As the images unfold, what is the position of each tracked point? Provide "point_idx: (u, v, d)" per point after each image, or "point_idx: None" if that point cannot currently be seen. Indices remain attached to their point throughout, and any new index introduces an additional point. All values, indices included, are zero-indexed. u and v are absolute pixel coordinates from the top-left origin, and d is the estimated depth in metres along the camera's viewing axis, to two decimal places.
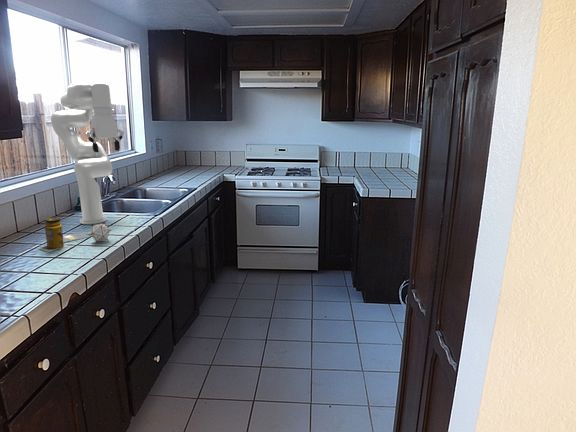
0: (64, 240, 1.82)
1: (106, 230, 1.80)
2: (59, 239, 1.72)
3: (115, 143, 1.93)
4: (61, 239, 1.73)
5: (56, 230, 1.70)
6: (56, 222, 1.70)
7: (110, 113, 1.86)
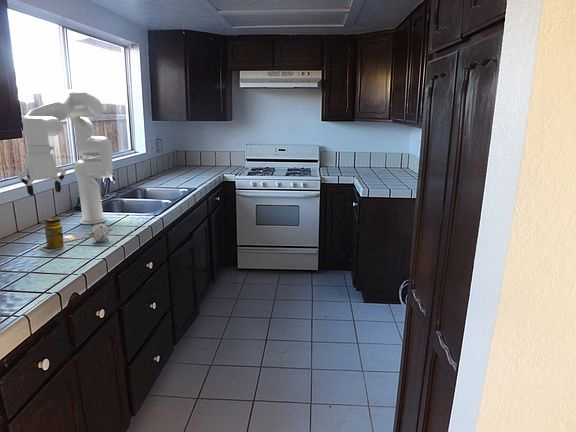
0: (64, 240, 1.82)
1: (106, 230, 1.80)
2: (59, 239, 1.72)
3: (55, 184, 1.70)
4: (61, 239, 1.73)
5: (56, 230, 1.70)
6: (56, 222, 1.70)
7: (47, 151, 1.63)
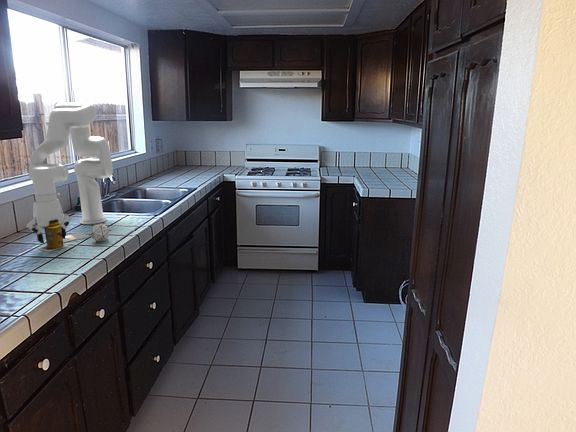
0: (64, 240, 1.82)
1: (106, 230, 1.80)
2: (59, 239, 1.72)
3: None
4: (61, 239, 1.73)
5: (56, 230, 1.70)
6: (55, 222, 1.69)
7: (54, 199, 1.68)
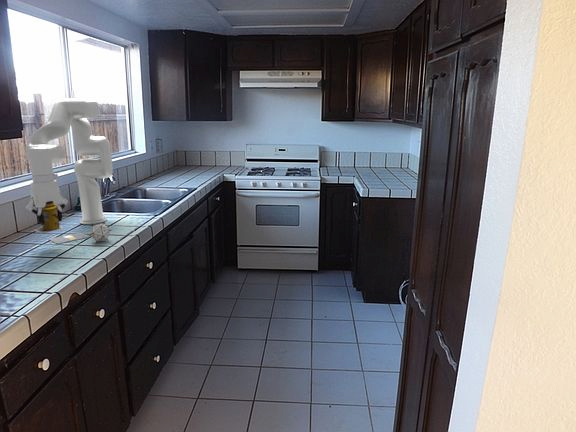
0: (64, 240, 1.82)
1: (106, 230, 1.80)
2: (54, 221, 1.70)
3: None
4: (57, 220, 1.71)
5: (51, 211, 1.68)
6: (50, 203, 1.68)
7: (52, 180, 1.66)
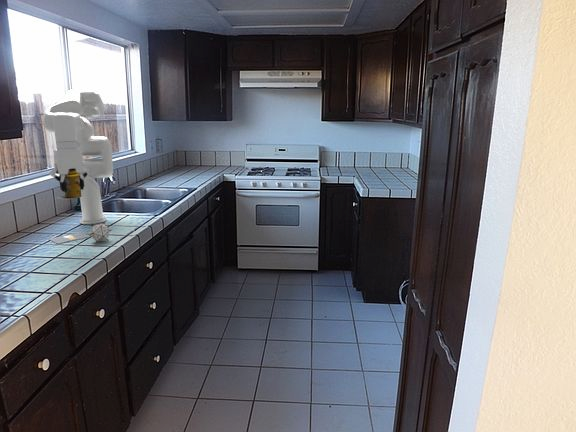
0: (64, 240, 1.82)
1: (106, 230, 1.80)
2: (77, 188, 1.71)
3: None
4: (79, 188, 1.72)
5: (74, 178, 1.69)
6: (73, 171, 1.69)
7: (75, 147, 1.67)
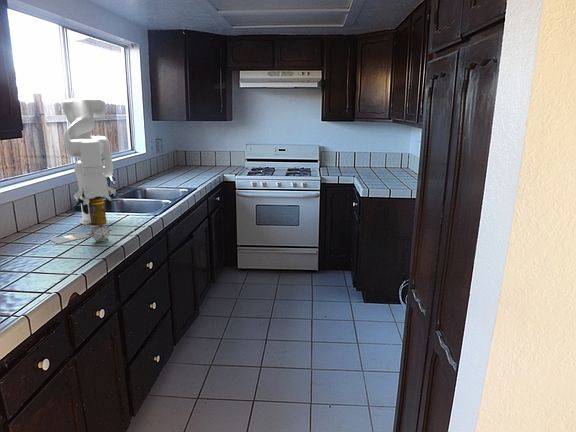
0: (64, 240, 1.82)
1: (106, 230, 1.80)
2: (102, 216, 1.77)
3: (106, 202, 1.81)
4: (104, 215, 1.78)
5: (100, 206, 1.76)
6: (99, 199, 1.76)
7: (101, 172, 1.74)
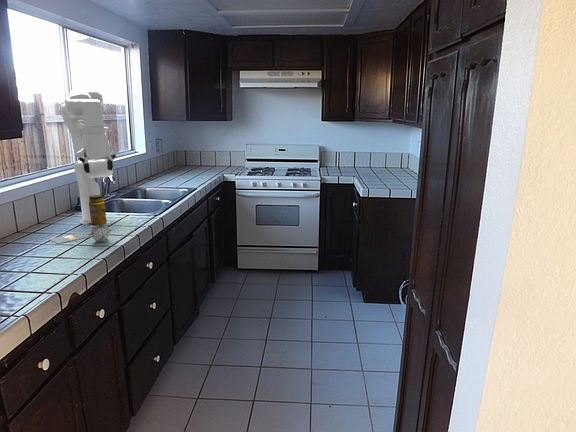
0: (64, 240, 1.82)
1: (106, 230, 1.80)
2: (102, 216, 1.77)
3: (108, 162, 1.84)
4: (104, 215, 1.78)
5: (100, 206, 1.76)
6: (99, 199, 1.76)
7: (102, 132, 1.76)
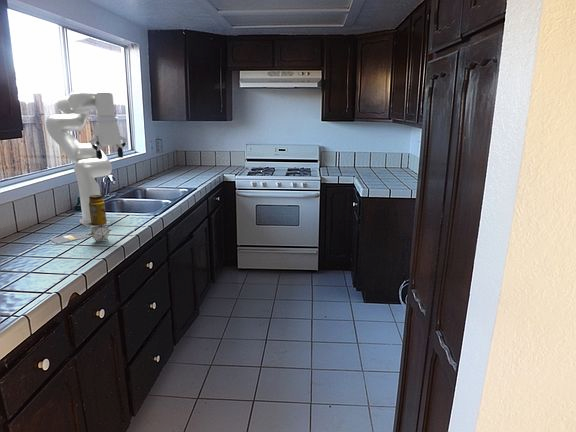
0: (64, 240, 1.82)
1: (106, 230, 1.80)
2: (102, 216, 1.77)
3: (118, 150, 1.97)
4: (104, 215, 1.79)
5: (100, 206, 1.76)
6: (99, 199, 1.76)
7: (113, 121, 1.89)
